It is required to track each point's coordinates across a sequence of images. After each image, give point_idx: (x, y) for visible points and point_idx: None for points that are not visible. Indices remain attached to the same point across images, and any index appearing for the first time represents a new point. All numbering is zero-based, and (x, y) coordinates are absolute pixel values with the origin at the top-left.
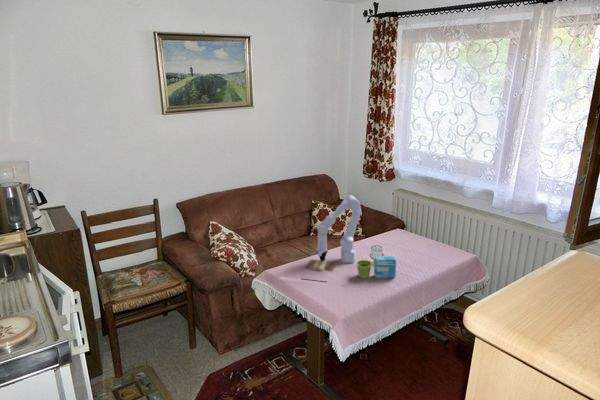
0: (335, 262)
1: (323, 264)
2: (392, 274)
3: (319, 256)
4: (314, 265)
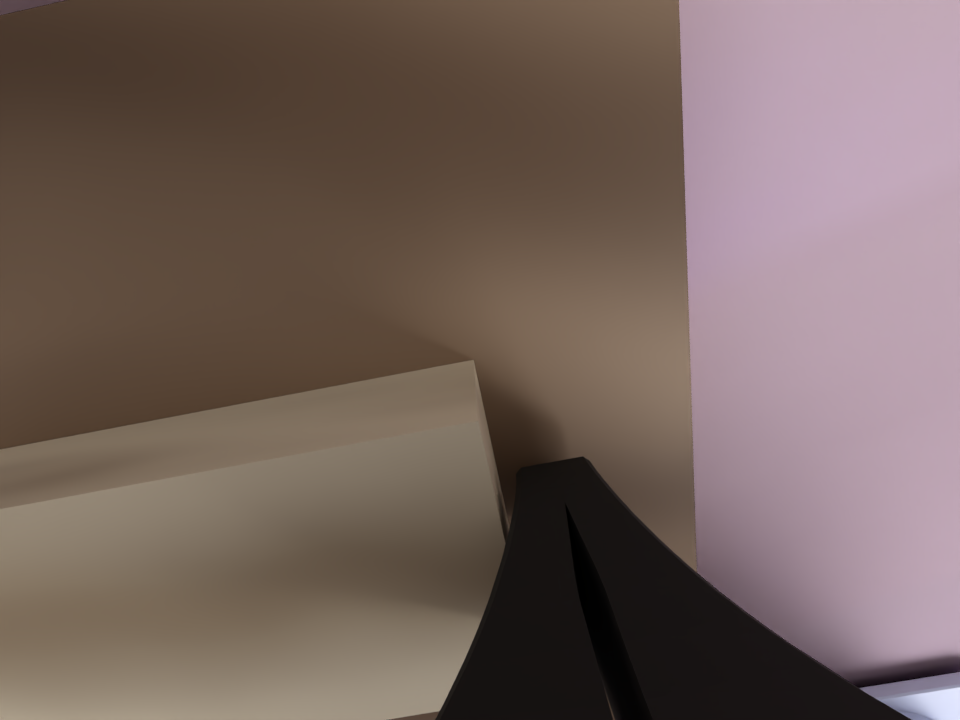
0: None
1: (231, 713)
2: None
3: (455, 683)
4: (213, 342)
